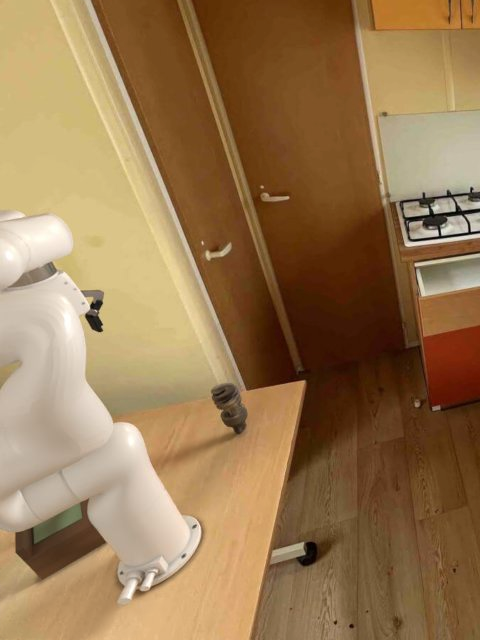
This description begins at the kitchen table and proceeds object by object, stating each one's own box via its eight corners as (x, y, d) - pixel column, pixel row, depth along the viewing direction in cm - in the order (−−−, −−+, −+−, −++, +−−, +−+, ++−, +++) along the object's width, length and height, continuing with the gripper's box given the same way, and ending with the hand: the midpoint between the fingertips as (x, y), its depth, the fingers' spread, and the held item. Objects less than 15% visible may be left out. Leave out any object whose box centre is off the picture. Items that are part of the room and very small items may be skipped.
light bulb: (223, 433, 104) (203, 388, 97) (245, 418, 108) (228, 374, 101) (236, 443, 102) (216, 398, 95) (258, 427, 106) (240, 383, 99)
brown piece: (99, 500, 89) (79, 472, 85) (107, 541, 82) (85, 514, 78) (39, 532, 83) (15, 504, 79) (42, 580, 76) (15, 552, 72)
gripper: (-28, 300, 73) (25, 374, 81) (92, 258, 87) (127, 325, 95) (-47, 291, 76) (6, 364, 84) (73, 251, 90) (108, 317, 98)
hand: (70, 343), depth 89 cm, fingers open, 9 cm apart
